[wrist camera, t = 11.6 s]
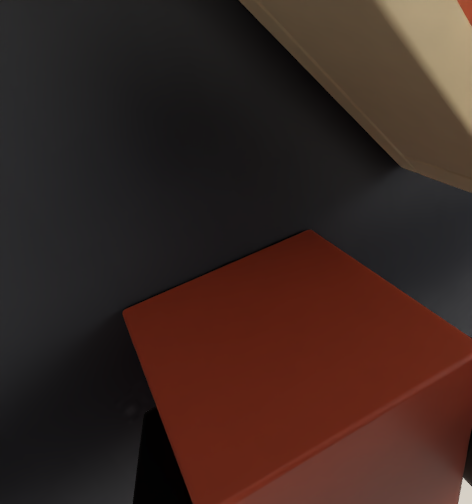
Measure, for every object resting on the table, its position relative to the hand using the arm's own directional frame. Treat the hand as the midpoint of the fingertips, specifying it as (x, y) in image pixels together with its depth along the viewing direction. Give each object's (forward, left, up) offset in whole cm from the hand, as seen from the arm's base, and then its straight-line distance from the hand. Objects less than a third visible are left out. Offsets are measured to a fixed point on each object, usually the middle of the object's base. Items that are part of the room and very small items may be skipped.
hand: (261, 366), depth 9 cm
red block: (0, 0, -1) cm, 1 cm away
